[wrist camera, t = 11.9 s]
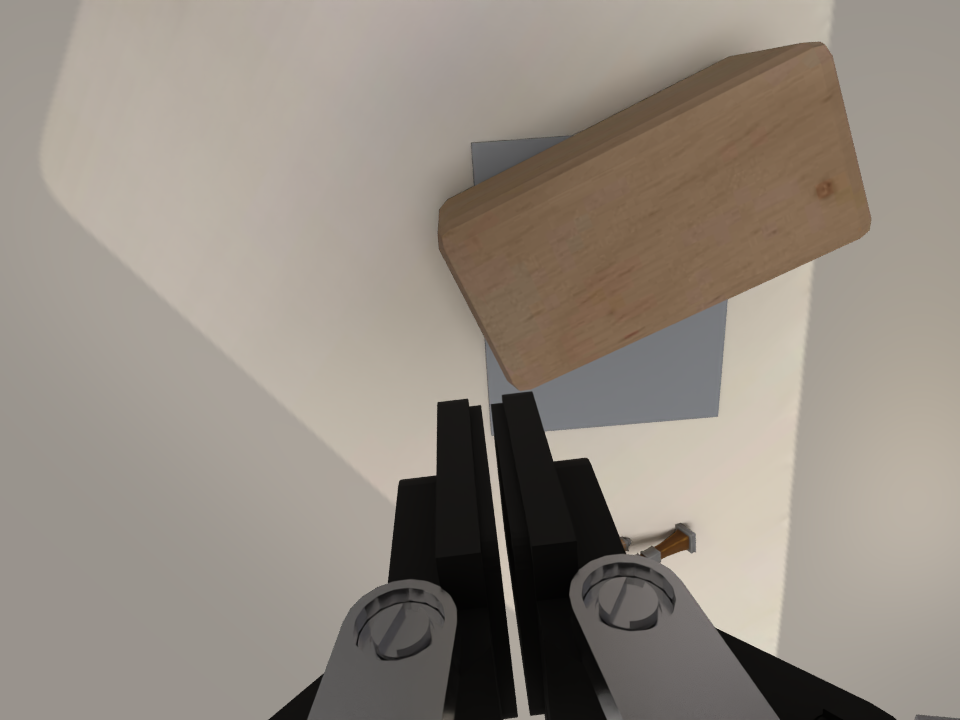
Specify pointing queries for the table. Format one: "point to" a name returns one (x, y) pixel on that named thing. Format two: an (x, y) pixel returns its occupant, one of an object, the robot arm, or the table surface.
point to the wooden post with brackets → (668, 544)
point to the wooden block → (658, 212)
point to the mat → (618, 351)
